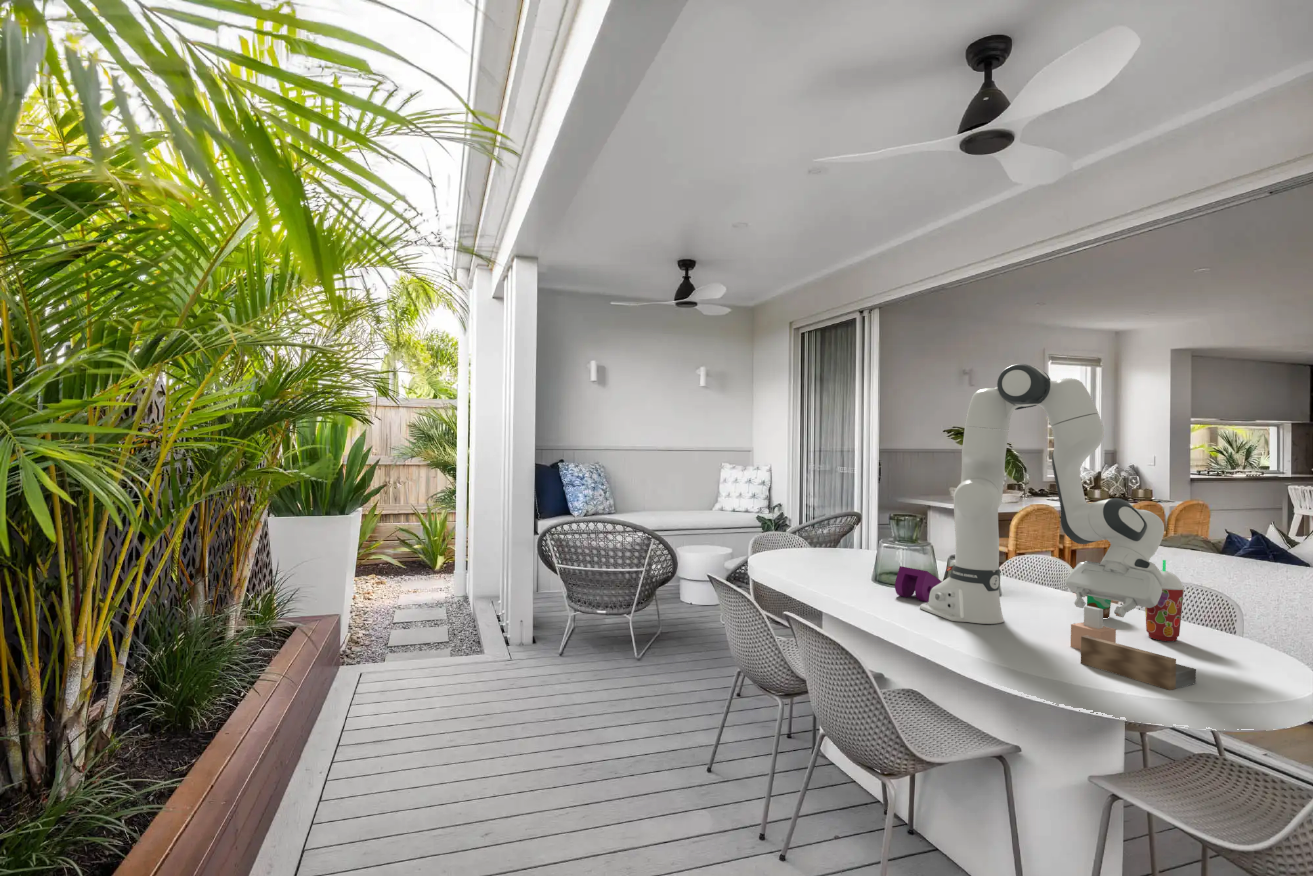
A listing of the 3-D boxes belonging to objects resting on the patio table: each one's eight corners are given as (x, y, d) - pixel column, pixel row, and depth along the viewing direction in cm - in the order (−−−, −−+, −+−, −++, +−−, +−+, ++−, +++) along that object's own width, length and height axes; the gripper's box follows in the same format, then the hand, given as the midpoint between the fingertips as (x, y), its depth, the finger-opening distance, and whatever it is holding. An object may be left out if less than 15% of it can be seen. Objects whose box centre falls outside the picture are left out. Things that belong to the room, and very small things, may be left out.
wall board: (1080, 663, 156) (1081, 636, 156) (1106, 658, 160) (1106, 631, 160) (1169, 690, 140) (1170, 660, 140) (1195, 683, 144) (1196, 654, 144)
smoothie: (1181, 638, 178) (1183, 559, 178) (1184, 645, 171) (1185, 564, 171) (1142, 632, 183) (1144, 556, 183) (1142, 639, 176) (1144, 560, 176)
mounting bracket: (921, 609, 227) (892, 591, 218) (928, 585, 230) (899, 566, 220) (948, 616, 220) (919, 597, 210) (955, 590, 222) (926, 571, 212)
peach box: (1070, 647, 168) (1071, 605, 168) (1085, 644, 171) (1086, 603, 171) (1100, 655, 162) (1100, 612, 162) (1115, 652, 165) (1116, 610, 165)
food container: (1112, 623, 192) (1113, 586, 192) (1086, 619, 196) (1087, 583, 196) (1115, 614, 202) (1116, 580, 202) (1090, 611, 206) (1091, 577, 205)
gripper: (1075, 552, 180) (1050, 593, 176) (1162, 565, 162) (1137, 611, 157) (1085, 568, 182) (1061, 609, 178) (1172, 583, 164) (1148, 629, 159)
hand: (1097, 610), depth 167 cm, fingers open, 8 cm apart
